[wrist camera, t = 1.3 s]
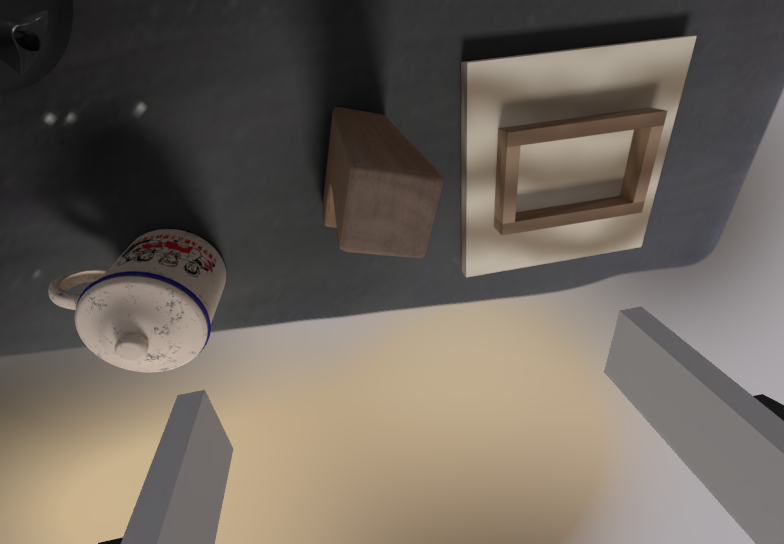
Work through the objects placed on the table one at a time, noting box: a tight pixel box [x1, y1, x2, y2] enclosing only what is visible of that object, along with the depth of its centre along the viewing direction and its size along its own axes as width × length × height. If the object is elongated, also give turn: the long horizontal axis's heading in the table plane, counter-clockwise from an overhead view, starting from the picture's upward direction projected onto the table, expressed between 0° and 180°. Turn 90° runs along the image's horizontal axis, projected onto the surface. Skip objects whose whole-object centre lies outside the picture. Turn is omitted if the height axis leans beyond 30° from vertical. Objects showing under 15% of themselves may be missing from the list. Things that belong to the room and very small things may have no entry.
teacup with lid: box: [49, 229, 226, 372], centre depth 32 cm, size 12×9×12 cm
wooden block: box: [323, 107, 443, 258], centre depth 27 cm, size 9×4×18 cm, turn 169°
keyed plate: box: [461, 36, 697, 277], centre depth 37 cm, size 20×20×4 cm
